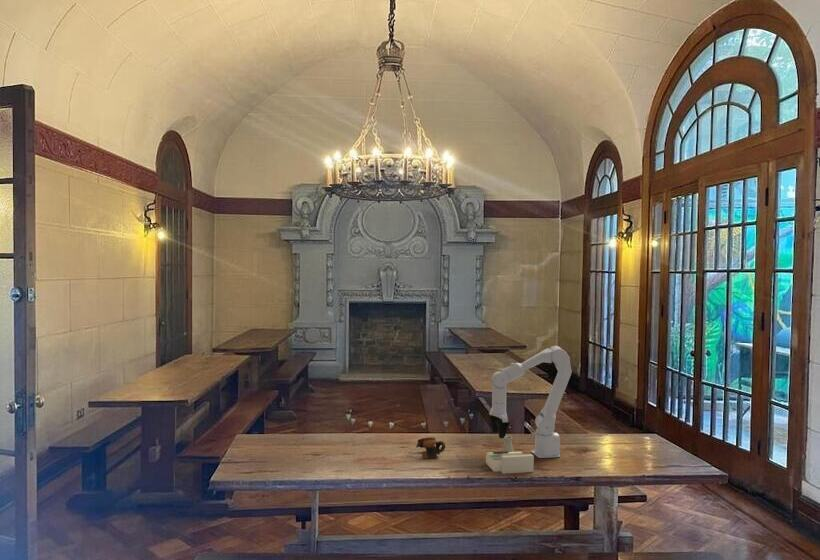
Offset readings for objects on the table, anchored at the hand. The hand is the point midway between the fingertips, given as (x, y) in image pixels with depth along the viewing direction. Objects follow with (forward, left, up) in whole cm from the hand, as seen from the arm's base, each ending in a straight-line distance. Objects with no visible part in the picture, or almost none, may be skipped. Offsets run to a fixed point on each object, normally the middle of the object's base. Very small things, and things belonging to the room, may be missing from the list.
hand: (498, 435), depth 235 cm
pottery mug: (+28, -2, -8) cm, 29 cm away
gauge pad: (+2, +15, -7) cm, 17 cm away
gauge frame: (+1, +16, -8) cm, 17 cm away
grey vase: (0, +10, -8) cm, 13 cm away
